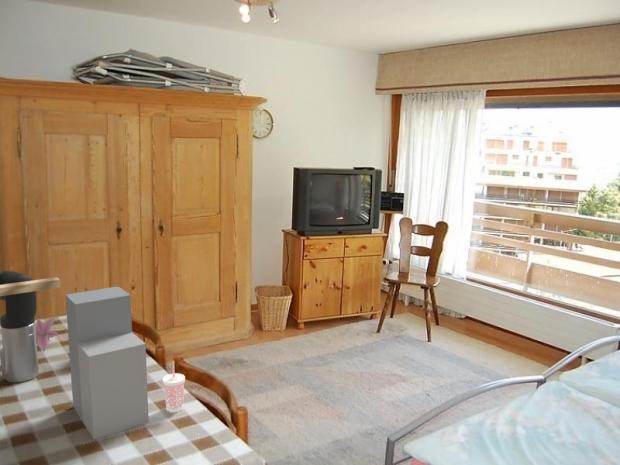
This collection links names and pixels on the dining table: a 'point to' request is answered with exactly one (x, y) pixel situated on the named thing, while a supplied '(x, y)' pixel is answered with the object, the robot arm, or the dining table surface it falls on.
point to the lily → (44, 332)
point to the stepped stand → (106, 362)
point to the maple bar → (29, 286)
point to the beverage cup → (174, 391)
